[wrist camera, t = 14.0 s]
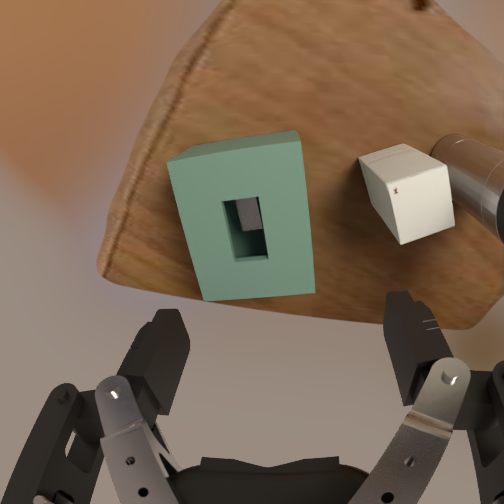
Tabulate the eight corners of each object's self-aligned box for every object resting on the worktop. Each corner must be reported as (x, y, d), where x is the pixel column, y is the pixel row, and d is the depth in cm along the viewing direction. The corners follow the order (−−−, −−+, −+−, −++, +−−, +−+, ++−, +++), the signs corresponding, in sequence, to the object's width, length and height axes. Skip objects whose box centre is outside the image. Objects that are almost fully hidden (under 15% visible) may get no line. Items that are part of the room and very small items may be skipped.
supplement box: (370, 205, 42) (398, 247, 31) (356, 156, 39) (384, 182, 28) (416, 191, 40) (456, 227, 29) (405, 141, 37) (447, 163, 26)
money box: (296, 130, 38) (300, 141, 29) (310, 253, 46) (315, 292, 37) (192, 146, 40) (166, 162, 31) (218, 261, 48) (204, 301, 40)
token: (257, 178, 41) (254, 189, 36) (265, 213, 43) (262, 228, 39) (239, 181, 41) (233, 193, 37) (247, 216, 43) (242, 231, 39)
